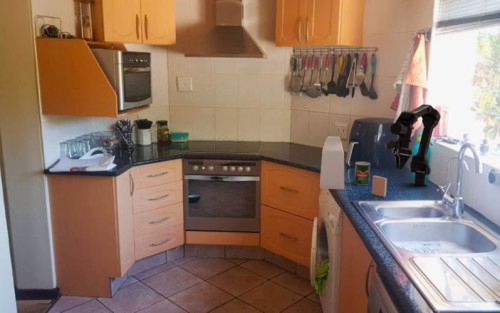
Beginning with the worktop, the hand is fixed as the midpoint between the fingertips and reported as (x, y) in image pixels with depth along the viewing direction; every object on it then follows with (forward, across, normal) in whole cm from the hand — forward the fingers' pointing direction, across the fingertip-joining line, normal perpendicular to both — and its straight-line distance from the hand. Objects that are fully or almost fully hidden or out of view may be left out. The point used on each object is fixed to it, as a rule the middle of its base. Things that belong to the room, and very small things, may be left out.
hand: (398, 168), depth 217 cm
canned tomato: (+11, -19, -14) cm, 26 cm away
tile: (+14, +2, -7) cm, 16 cm away
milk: (+15, -10, -30) cm, 35 cm away
